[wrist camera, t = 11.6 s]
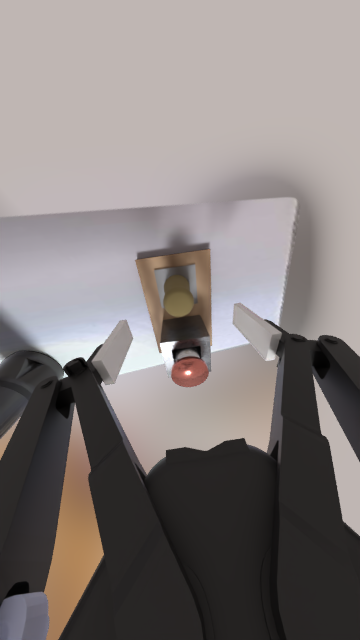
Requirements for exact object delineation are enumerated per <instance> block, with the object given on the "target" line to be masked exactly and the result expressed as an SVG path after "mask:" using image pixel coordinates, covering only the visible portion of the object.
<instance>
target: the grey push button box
mask: <svg viewBox="0 0 360 640" xmlns="http://www.w3.org/2000/svg"><path fill="white" fill-rule="evenodd" d="M160 346H161V350H162V354H163V358H164V362H165V366H166V369H167V374H168V377H171V369H172V366H173V364H174V363H175V362H176V360H175V349H181V348H188V347H195V346H197V349H198V353H199V356H200V358H201V359H203V360H204V361H205V362H206V365H207V368H208V371H209V372H210V371H211V359H210V358H211V353H210V335H209V333H208V331H207V329H206V326H205V324H204V322H203V320H202V318H201V316H200V315H194V316H187V317H180V318H173V319H166V320H163V321H162V330H161V339H160Z"/></svg>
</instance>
